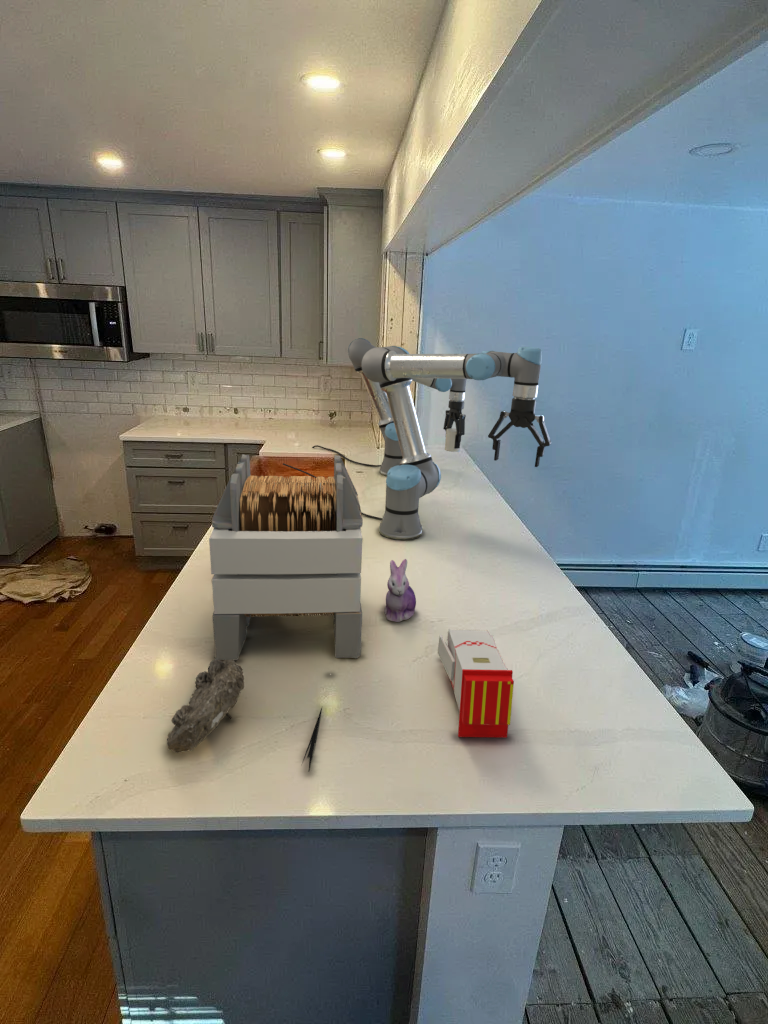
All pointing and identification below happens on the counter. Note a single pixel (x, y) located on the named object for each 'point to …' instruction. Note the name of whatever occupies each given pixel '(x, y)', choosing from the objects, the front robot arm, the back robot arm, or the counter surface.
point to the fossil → (206, 705)
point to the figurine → (399, 594)
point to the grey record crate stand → (286, 555)
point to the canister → (450, 440)
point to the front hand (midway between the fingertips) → (516, 462)
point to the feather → (313, 740)
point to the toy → (478, 682)
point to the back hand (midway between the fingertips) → (452, 446)
